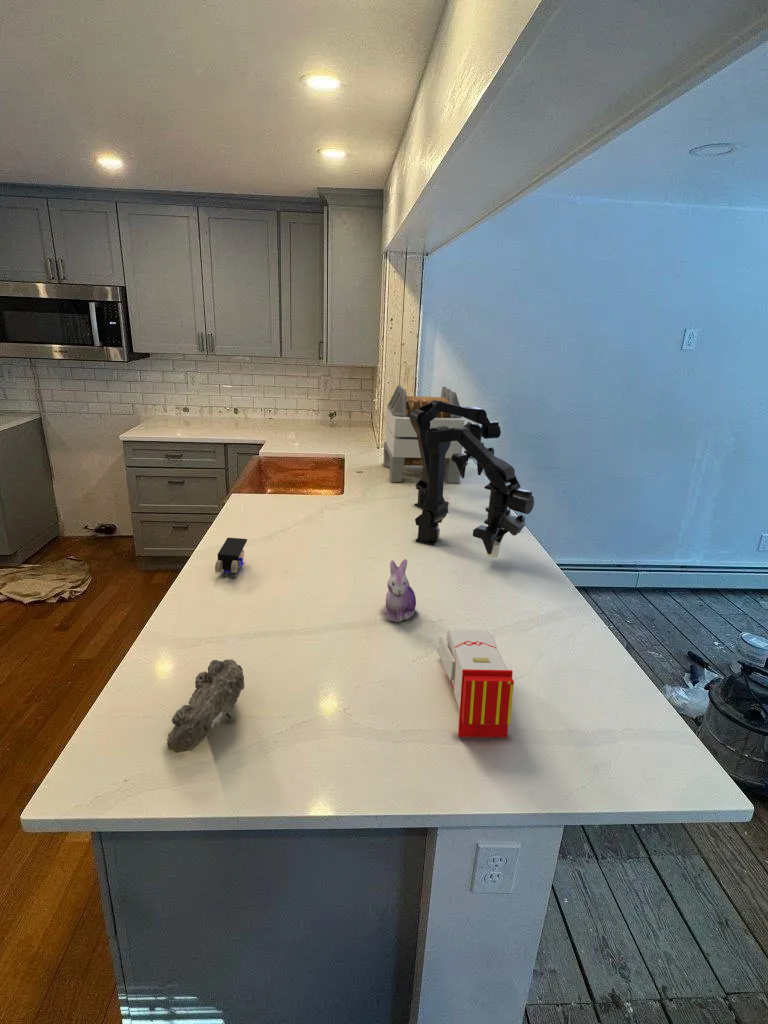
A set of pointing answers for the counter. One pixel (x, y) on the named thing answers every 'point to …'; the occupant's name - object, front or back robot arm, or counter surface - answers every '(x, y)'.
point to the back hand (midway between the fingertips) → (471, 476)
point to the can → (494, 550)
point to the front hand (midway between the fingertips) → (492, 551)
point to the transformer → (404, 438)
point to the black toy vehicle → (230, 556)
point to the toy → (478, 682)
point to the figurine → (399, 594)
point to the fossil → (206, 705)
